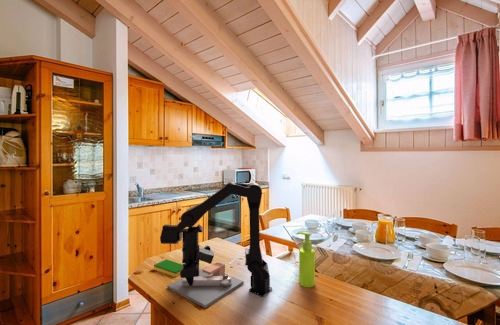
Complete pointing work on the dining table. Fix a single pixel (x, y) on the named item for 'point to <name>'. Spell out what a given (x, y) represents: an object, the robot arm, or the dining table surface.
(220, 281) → the lever
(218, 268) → the block
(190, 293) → the base plate
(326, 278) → the dining table surface
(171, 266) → the dish sponge
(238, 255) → the butter knife
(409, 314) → the dining table surface
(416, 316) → the dining table surface
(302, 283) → the soap dispenser
